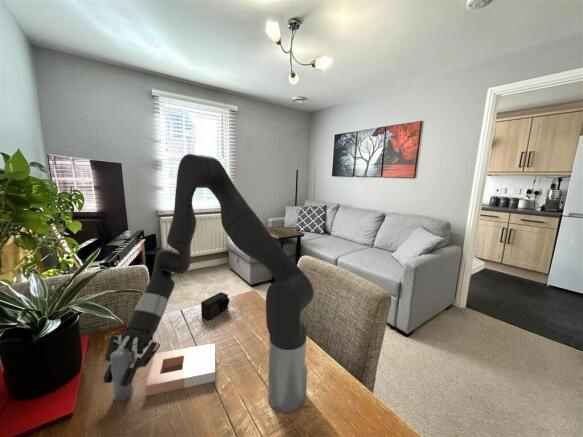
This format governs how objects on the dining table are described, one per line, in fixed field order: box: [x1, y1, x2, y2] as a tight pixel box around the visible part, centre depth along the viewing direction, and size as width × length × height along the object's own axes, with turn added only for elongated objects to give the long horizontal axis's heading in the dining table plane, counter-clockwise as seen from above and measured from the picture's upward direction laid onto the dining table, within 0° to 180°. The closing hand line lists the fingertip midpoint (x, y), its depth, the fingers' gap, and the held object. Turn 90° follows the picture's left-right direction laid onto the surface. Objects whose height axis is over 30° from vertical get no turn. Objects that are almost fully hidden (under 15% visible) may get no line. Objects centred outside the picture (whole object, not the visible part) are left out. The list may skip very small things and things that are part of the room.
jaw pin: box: [109, 348, 134, 403], centre depth 62 cm, size 4×4×12 cm
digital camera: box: [200, 291, 230, 322], centre depth 100 cm, size 10×5×7 cm, turn 149°
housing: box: [145, 343, 216, 397], centre depth 70 cm, size 17×12×3 cm
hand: (115, 383), depth 60 cm, fingers open, 4 cm apart
